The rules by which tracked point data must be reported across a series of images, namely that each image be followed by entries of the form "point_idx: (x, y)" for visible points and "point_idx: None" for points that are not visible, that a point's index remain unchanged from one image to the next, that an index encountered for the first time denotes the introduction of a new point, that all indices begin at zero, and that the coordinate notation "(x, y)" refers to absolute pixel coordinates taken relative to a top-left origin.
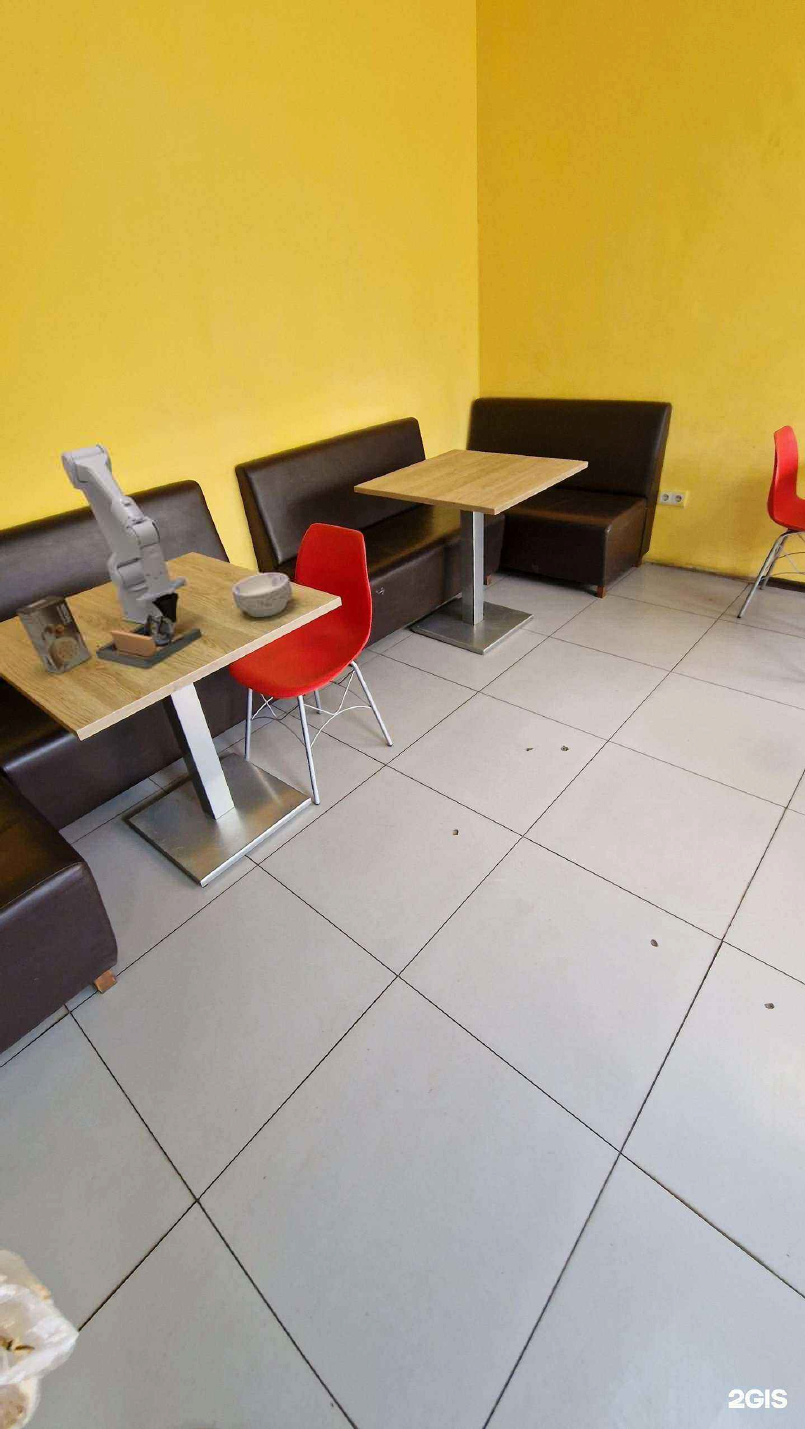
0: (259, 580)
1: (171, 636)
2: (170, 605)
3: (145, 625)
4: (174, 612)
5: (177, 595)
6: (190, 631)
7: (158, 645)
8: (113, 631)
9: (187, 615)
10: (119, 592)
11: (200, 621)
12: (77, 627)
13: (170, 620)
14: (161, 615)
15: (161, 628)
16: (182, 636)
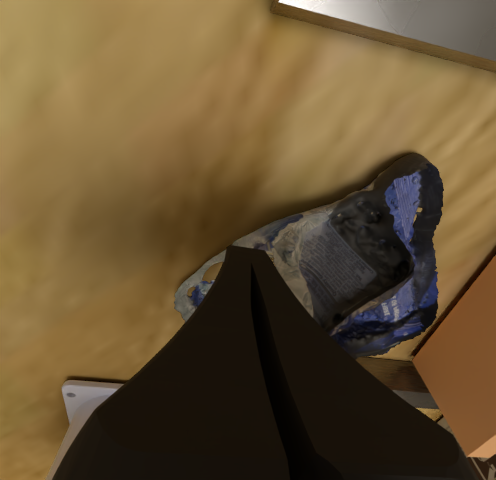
0: None
1: (351, 194)
2: (299, 366)
3: None
4: (239, 288)
5: (110, 463)
6: (358, 13)
7: (422, 221)
8: (492, 450)
9: (36, 287)
10: None
11: (59, 156)
12: None
13: (280, 274)
14: (104, 383)
15: (360, 277)
16: (461, 37)
